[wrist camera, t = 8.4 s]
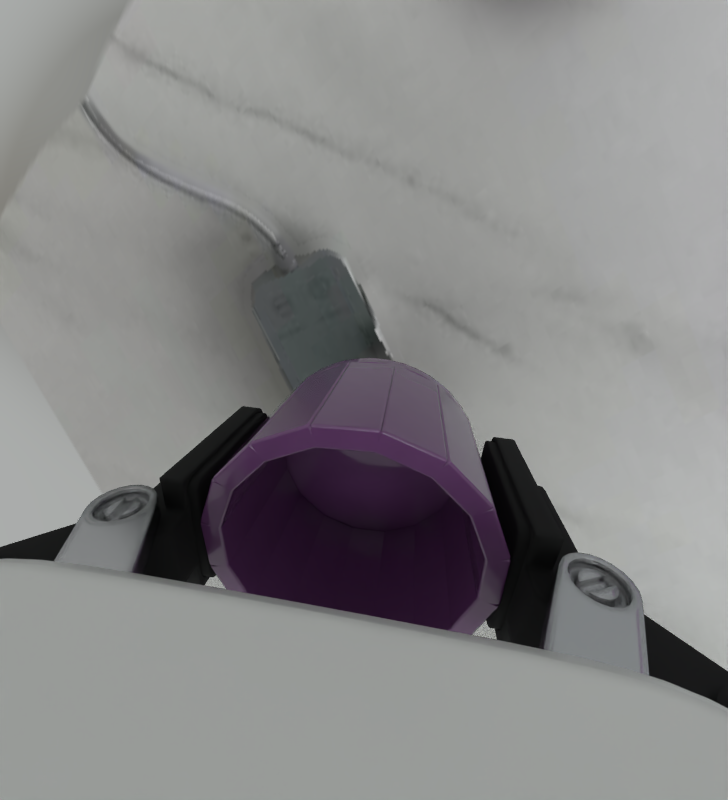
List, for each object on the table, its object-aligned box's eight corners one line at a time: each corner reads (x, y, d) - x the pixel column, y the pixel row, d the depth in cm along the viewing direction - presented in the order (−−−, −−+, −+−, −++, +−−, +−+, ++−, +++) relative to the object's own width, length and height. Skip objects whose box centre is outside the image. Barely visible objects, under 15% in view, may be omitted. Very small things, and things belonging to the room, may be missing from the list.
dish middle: (240, 441, 12) (149, 538, 8) (375, 310, 10) (343, 352, 6) (369, 556, 13) (347, 691, 9) (518, 465, 11) (577, 594, 7)
